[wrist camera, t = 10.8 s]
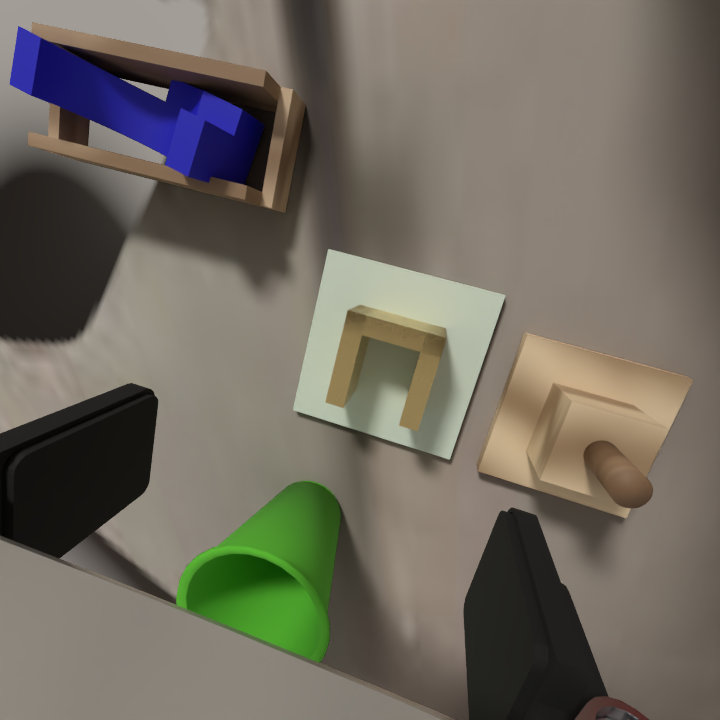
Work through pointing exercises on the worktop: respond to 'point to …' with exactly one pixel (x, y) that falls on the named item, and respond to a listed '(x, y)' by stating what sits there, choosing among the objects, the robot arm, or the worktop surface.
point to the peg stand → (581, 424)
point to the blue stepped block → (143, 111)
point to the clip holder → (158, 71)
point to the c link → (394, 331)
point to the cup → (273, 572)
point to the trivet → (397, 350)
